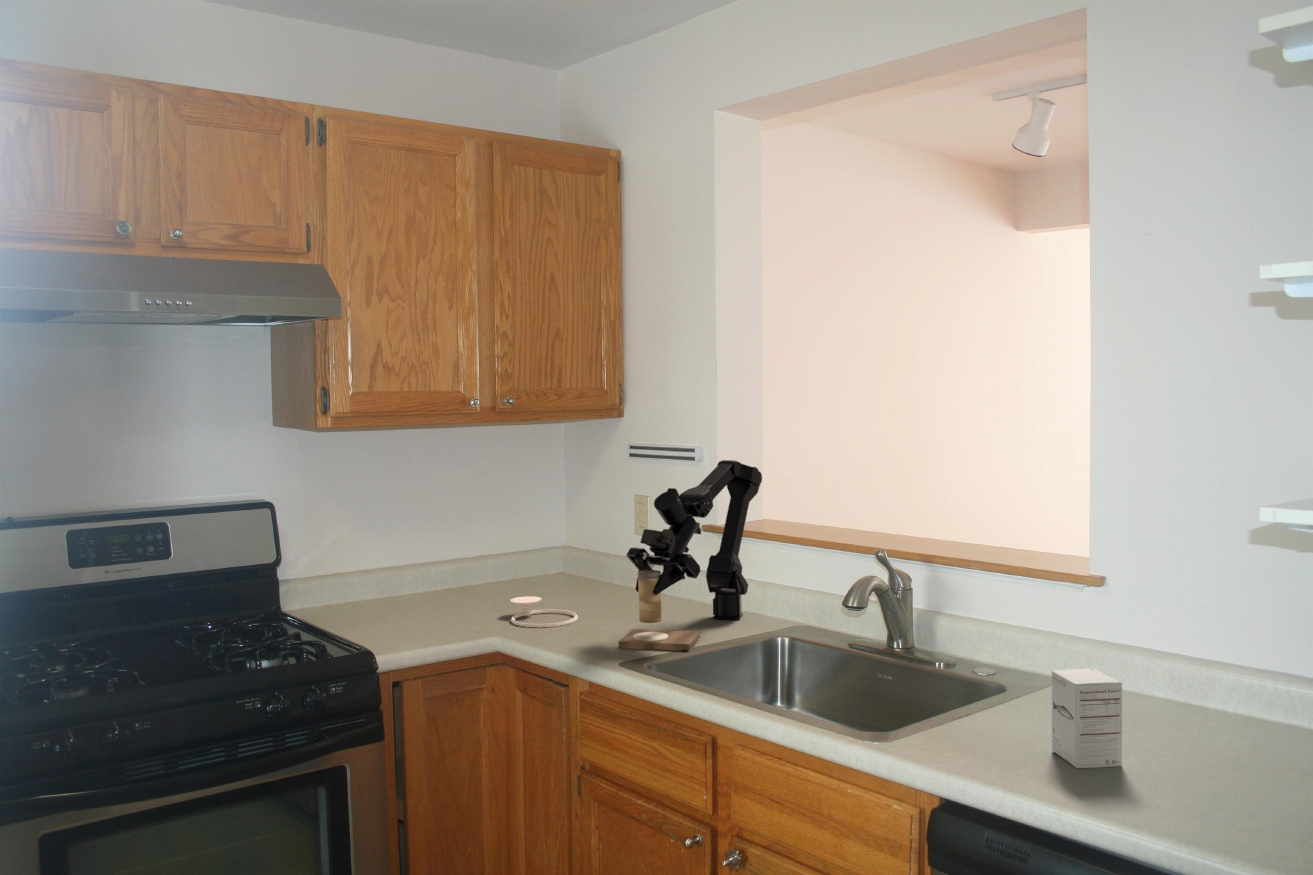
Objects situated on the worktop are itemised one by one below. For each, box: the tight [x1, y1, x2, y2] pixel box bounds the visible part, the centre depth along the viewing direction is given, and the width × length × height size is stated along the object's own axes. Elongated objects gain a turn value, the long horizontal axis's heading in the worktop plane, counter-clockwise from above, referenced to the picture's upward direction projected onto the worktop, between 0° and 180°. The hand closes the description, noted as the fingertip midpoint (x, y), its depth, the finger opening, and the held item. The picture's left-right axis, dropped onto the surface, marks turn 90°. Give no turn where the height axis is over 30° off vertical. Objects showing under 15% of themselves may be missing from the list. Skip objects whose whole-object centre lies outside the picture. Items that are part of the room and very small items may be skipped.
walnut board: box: [618, 628, 701, 651], centre depth 221 cm, size 16×12×2 cm
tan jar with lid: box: [637, 569, 662, 624], centre depth 220 cm, size 5×5×11 cm
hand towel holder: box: [510, 595, 579, 629], centre depth 247 cm, size 17×4×21 cm
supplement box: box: [1051, 668, 1123, 769], centre depth 146 cm, size 7×7×13 cm
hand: (645, 592), depth 219 cm, fingers closed on tan jar with lid, 5 cm apart
